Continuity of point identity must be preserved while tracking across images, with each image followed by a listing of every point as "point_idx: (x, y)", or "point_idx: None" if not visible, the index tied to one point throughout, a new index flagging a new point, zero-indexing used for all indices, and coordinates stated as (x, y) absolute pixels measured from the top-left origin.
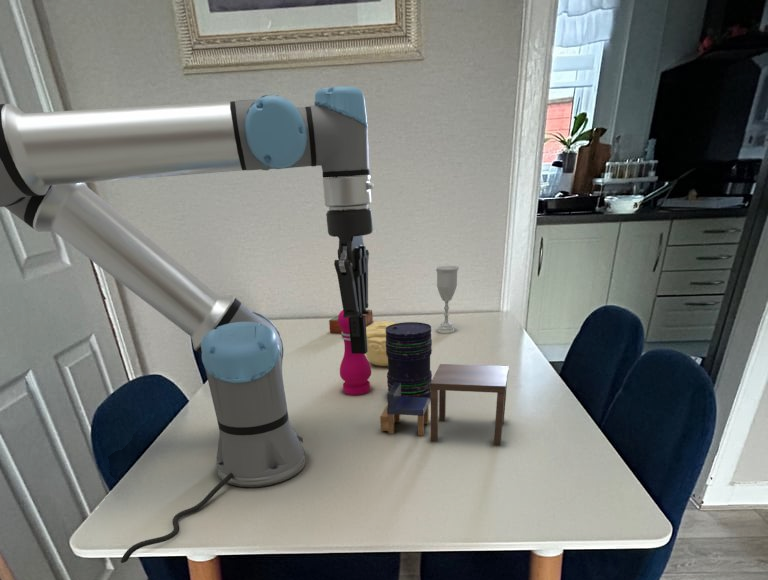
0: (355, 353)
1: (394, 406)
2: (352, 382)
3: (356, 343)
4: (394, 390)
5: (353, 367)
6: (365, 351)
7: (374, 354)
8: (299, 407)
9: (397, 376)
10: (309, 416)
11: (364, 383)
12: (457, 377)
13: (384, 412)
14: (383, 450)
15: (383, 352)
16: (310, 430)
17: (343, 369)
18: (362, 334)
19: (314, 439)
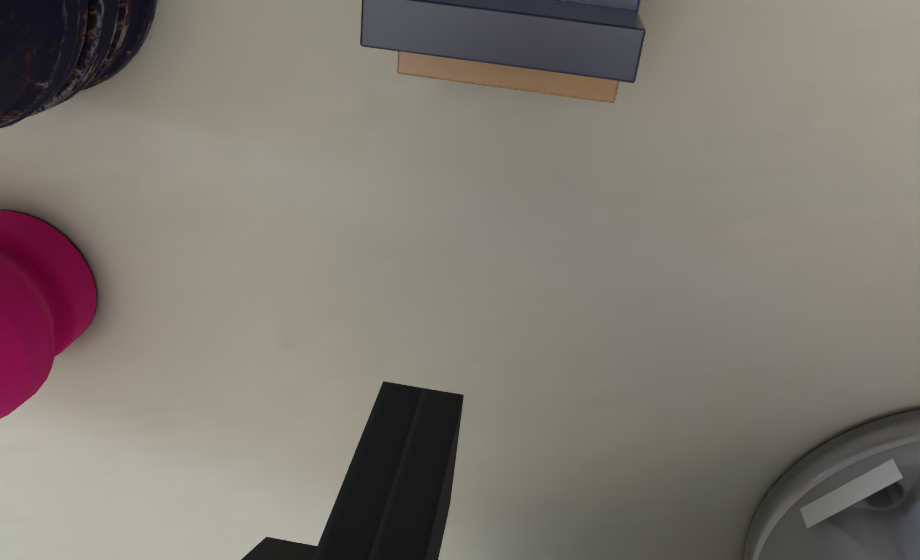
0: (452, 476)
1: (619, 9)
2: (52, 324)
3: (438, 535)
4: (552, 29)
5: None
6: (455, 407)
7: None
8: (297, 501)
9: (41, 49)
10: None
11: (8, 255)
12: None
13: (551, 80)
14: (862, 32)
15: None
16: (562, 427)
17: (6, 408)
18: (428, 556)
19: (670, 398)
